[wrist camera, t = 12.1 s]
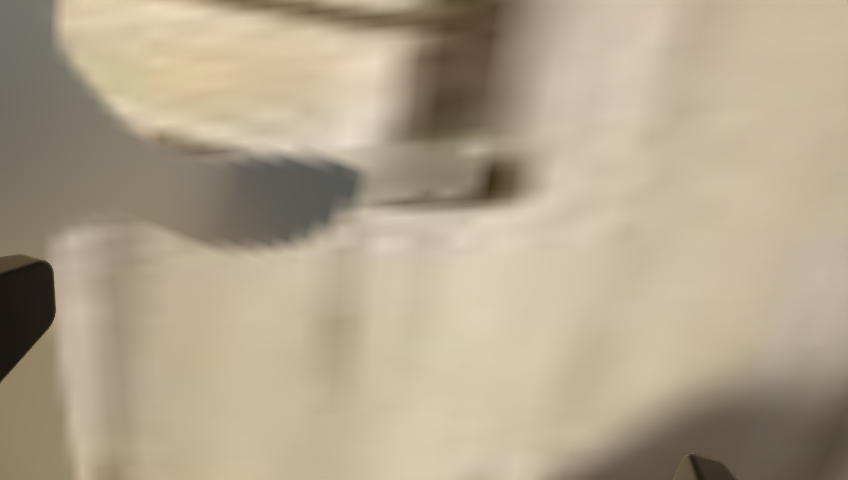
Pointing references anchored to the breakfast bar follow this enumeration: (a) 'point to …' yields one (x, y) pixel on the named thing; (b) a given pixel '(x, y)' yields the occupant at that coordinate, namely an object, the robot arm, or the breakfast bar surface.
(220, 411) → the breakfast bar surface
